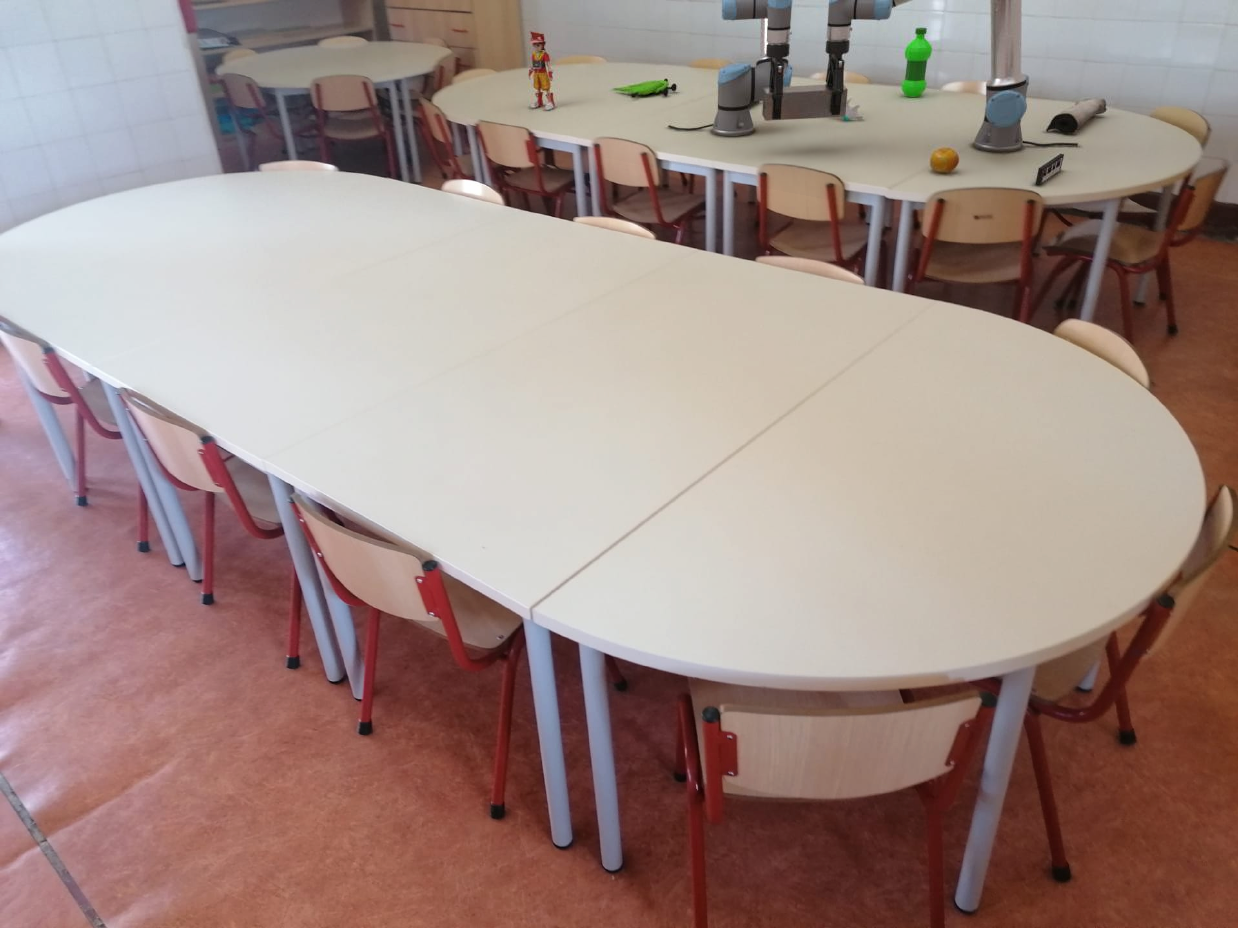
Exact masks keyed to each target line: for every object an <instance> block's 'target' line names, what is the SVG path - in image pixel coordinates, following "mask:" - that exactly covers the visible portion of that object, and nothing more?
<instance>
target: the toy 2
mask: <svg viewBox="0 0 1238 928" xmlns="http://www.w3.org/2000/svg"><path fill="white" fill-rule="evenodd" d="M669 85H670V83H669V79H668V78H664V79H663V80H649V81H644V82H640V83H634V84H629V85H627V86H621V87H613V88H612V89H613V90H616V91H619V92H623V93H627V94H628V93H629V94H631V95H630V96H631V98H632V99H634V98H636V96H637V95H650V94H652V93H654V94H658V93H662V95H663V96H665V97H667V96H668V95H669V90H671V91H672V92H676V91H677V84H676V83H672V84H671V86H669Z"/></svg>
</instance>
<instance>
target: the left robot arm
mask: <svg viewBox="0 0 1238 928" xmlns="http://www.w3.org/2000/svg"><path fill="white" fill-rule="evenodd" d="M792 7H793V0H721V18H722V20H723V21H732V22H734V21H744V20H760V54H759V55H760V57H759V58H758V59H757V61H755V66H752V65H751V63H750V62H747V61H746V62H735V63H730V64H727V65H724V66H722V67H720V69H719V70H718V75H717V111H716V114H715V118H714V120H713V123H711V124H707V125H703V126H702V125H701V126H699V127H697V126H696V127H677V126H673V125H671V124H668V128H671V129H674V130H677V131H697V130H702V129H703V130H704V129H706V128H710V127H712V133H713V134H715V135H717V136H721V137H741V136H746V135H750V134H752V133H754V127H755V126H754V122H753V118H752V115H751V111H750V107H749V102H755V101H760V102H763V88H769V87H774V97H772V99H773V116H772V119H781V104H782V98H783V87H788V86H791V85H792V84H791V83H792V77H793V69H794V68H793V66H792V65H791V64H789V59H788V58H787V57H789V56H790V42H791V36H790V35H792V34H793V31H791V28H792V27H791V23H792V10H793V9H792ZM777 94H778V95H777Z"/></svg>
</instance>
